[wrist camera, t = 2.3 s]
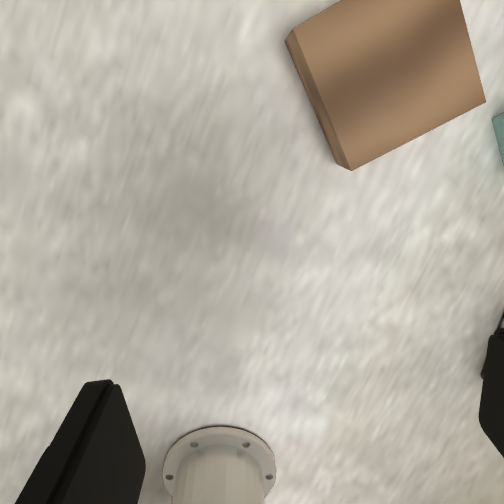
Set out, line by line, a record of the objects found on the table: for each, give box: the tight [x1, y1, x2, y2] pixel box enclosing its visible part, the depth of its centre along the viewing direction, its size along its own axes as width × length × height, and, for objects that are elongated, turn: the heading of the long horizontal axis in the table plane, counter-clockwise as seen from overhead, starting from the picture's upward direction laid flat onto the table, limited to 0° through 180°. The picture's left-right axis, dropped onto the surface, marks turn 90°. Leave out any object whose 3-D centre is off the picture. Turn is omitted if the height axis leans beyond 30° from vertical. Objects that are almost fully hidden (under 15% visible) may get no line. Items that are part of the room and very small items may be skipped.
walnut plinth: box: [285, 0, 486, 171], centre depth 26 cm, size 10×10×4 cm
